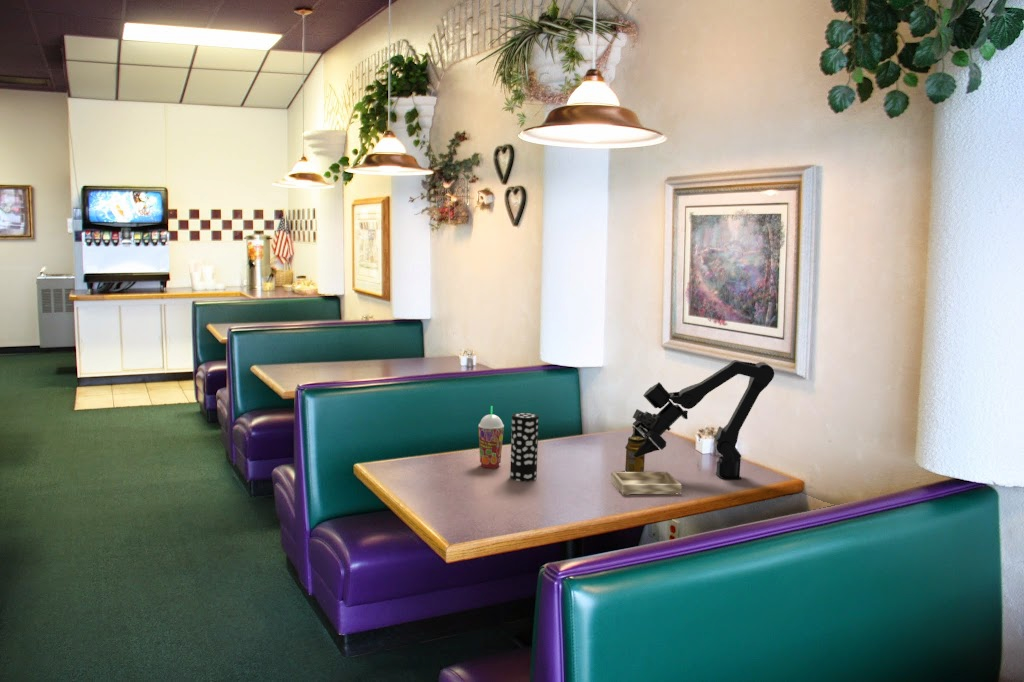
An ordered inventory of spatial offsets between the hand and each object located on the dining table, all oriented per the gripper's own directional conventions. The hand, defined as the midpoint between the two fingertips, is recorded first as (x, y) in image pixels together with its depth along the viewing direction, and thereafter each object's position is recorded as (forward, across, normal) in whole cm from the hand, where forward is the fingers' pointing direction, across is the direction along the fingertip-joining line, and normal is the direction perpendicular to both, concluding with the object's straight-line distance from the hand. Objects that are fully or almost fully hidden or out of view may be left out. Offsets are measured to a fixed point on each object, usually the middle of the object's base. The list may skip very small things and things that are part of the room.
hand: (630, 452), depth 279 cm
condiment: (+5, 0, +6) cm, 7 cm away
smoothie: (+36, -12, -26) cm, 46 cm away
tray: (+5, +15, +5) cm, 17 cm away
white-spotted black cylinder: (+30, +2, -20) cm, 36 cm away
